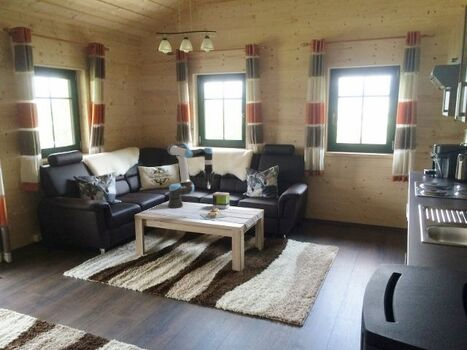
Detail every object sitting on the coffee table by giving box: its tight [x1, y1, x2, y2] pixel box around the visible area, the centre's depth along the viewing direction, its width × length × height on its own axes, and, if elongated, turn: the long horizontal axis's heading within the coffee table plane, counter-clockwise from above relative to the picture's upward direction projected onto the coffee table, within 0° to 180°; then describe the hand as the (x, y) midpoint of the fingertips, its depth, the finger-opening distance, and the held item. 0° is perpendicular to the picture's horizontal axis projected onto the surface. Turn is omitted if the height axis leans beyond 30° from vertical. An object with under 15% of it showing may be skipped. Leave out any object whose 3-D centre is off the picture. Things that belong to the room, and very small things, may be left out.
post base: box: [200, 207, 227, 220], centre depth 349 cm, size 16×20×8 cm
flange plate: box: [207, 208, 221, 219], centre depth 351 cm, size 17×8×4 cm, turn 168°
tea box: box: [212, 191, 230, 210], centre depth 378 cm, size 15×10×15 cm
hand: (208, 188), depth 355 cm, fingers closed
